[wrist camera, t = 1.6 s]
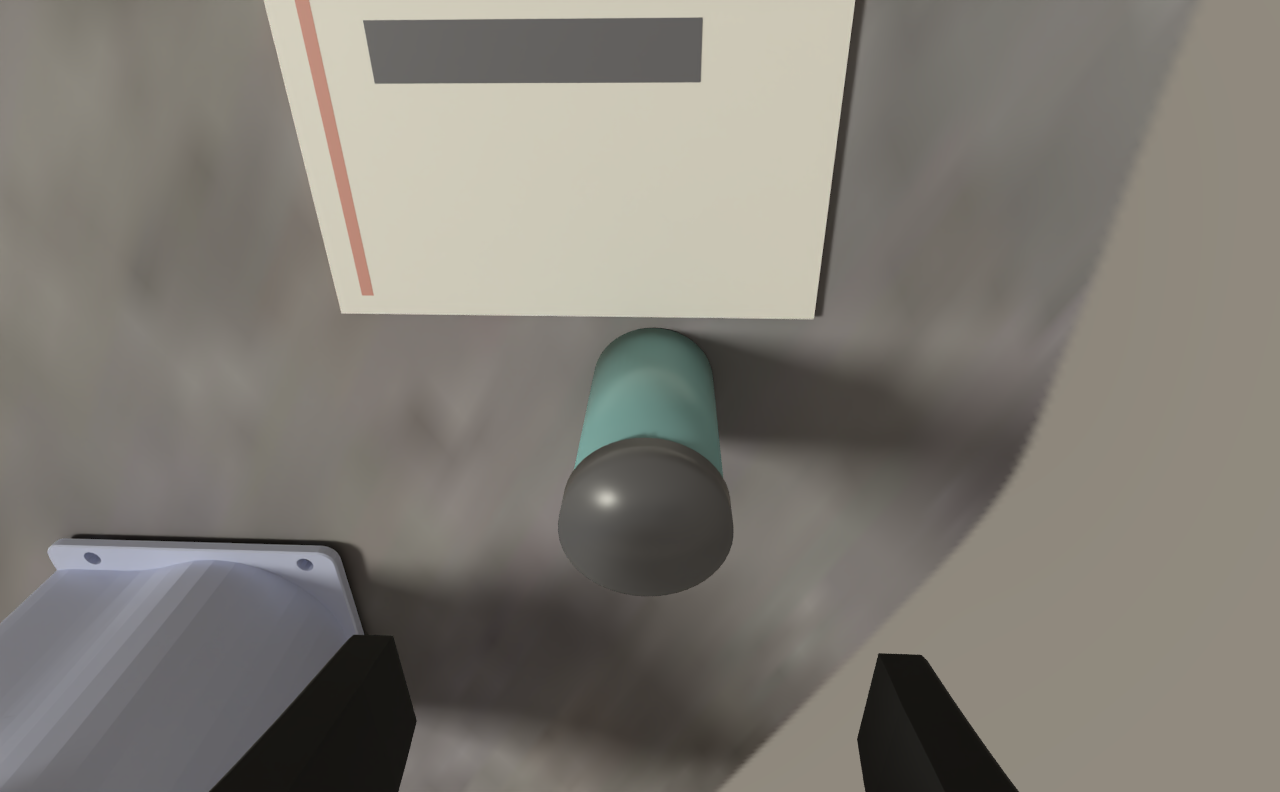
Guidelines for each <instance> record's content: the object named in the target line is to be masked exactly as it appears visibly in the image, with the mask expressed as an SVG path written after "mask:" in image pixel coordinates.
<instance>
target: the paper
mask: <svg viewBox="0 0 1280 792" xmlns="http://www.w3.org/2000/svg"><path fill="white" fill-rule="evenodd" d="M264 3H265V7H266V11H267V15H268V19H269V23H270V27H271V31H272V35H273V39H274V43H275V47H276V51H277V55H278V60H279V64H280V68H281V72H282V76H283V80H284V84H285V88H286V92H287V96H288V100H289V104H290V108H291V112H292V116H293V120H294V124H295V128H296V132H297V136H298V140H299V144H300V148H301V152H302V156H303V160H304V164H305V168H306V172H307V176H308V180H309V184H310V188H311V192H312V196H313V200H314V204H315V208H316V212H317V216H318V221H319V225H320V229H321V233H322V237H323V241H324V245H325V249H326V253H327V257H328V261H329V265H330V269H331V273H332V277H333V281H334V285H335V289H336V293H337V297H338V301H339V305H340V309H341V313H356V314H437V315H519V316H601V317H682V318H764V319H814V314H815V307H816V299H817V291H818V283H819V276H820V268H821V260H822V253H823V245H824V237H825V230H826V222H827V214H828V206H829V199H830V191H831V183H832V176H833V168H834V160H835V153H836V145H837V137H838V129H839V122H840V114H841V106H842V99H843V91H844V83H845V76H846V68H847V60H848V52H849V45H850V37H851V29H852V22H853V14H854V6H855V0H264Z"/></svg>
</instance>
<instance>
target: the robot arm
mask: <svg viewBox="0 0 1280 792" xmlns="http://www.w3.org/2000/svg"><path fill="white" fill-rule="evenodd" d="M47 552H48V555H49V558H50V559H51V561H52V563H53V564H54V566H55V568H56V569H57V571H56V572H55V573H54V574H52V575H51V576H50V577H49V578H48V579H47V580H46V581H45V582H44V583H43V584H42V585H41V586H40V587H39V588H38V589H36V590H35V591H34V592H33V593H32V594H31V595H30V596H29V597H28V598H27V599H26V600H25V601H24V602H23V603H21V604H20V605H19V606H18V607H17V608H16V609H15V610H14V611H13V612H12V613H11V614H10V615H9V616H8V617H7V618H5V619H4V620H3V621H2V622H1V623H0V792H398V791H399V787H400V783H401V780H402V776H403V772H404V769H405V765H406V761H407V757H408V753H409V749H410V745H411V741H412V737H413V733H414V729H415V725H416V721H417V720H416V717H415V713H414V710H413V706H412V703H411V699H410V695H409V692H408V688H407V685H406V681H405V677H404V674H403V670H402V667H401V663H400V660H399V656H398V652H397V649H396V645H395V642H394V638H393V636H378V635H364V632H363V629H362V625H361V622H360V619H359V616H358V612H357V609H356V606H355V603H354V600H353V596H352V593H351V590H350V587H349V583H348V580H347V577H346V574H345V571H344V567H343V564H342V561H341V558H340V556H339V554H338V553H337V552H336V551H335V550H334V549H332V548H330V547H327V546H314V545H279V544H244V543H209V542H174V541H139V540H104V539H69V538H63V539H58V540H57V541H56V542H55V543H53V544H52V545H51V546H50V547H49V548H48V551H47ZM306 559H307V560H306ZM308 560H309V561H308ZM310 561H311V562H310ZM857 741H858V748H859V754H860V761H861V767H862V773H863V780H864V786H865V791H866V792H1019V791H1018V790H1017V789H1016V787H1015V786H1014V785H1013V783H1012V782H1011V781H1010V779H1009V778H1008V777H1007V775H1006V774H1005V773H1004V771H1003V770H1002V769H1001V767H1000V766H999V764H998V763H997V762H996V760H995V759H994V758H993V756H992V755H991V753H990V752H989V751H988V749H987V748H986V746H985V745H984V744H983V742H982V741H981V739H980V738H979V736H978V735H977V733H976V732H975V731H974V729H973V728H972V726H971V725H970V724H969V722H968V721H967V719H966V718H965V716H964V715H963V713H962V712H961V711H960V709H959V708H958V706H957V705H956V703H955V702H954V700H953V699H952V697H951V696H950V694H949V693H948V691H947V690H946V688H945V687H944V685H943V684H942V682H941V681H940V679H939V678H938V676H937V675H936V673H935V672H934V670H933V669H932V667H931V666H930V664H929V663H928V661H927V660H926V659H925V658H924V657H923V656H922V655H909V654H880V653H879V654H878V658H877V662H876V666H875V670H874V674H873V678H872V682H871V686H870V690H869V694H868V698H867V702H866V706H865V710H864V714H863V718H862V722H861V726H860V730H859V734H858V738H857Z"/></svg>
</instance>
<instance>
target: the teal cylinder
mask: <svg viewBox="0 0 1280 792" xmlns="http://www.w3.org/2000/svg"><path fill="white" fill-rule="evenodd" d="M558 534H559V540H560V543H561V546H562V548H563V550H564V552H565V554H566V556H567V558H568V559H569V560H570V562H571V563H572V564H573V565H574V566H575V567H576V569H577V570H578V571H579V572H581V573H582V574H583V575H584V576H586V577H587V578H588V579H590V580H592V581H593V582H595V583H597V584H599V585H601V586H603V587H605V588H608V589H610V590H613V591H616V592H620V593H624V594H629V595H635V596H661V595H668V594H673V593H678V592H681V591H684V590H687V589H689V588H691V587H694V586H696V585H698V584H699V583H701V582H703V581H704V580H706V579H707V578H708V577H710V576H711V575H712V574H713V573H714V572H715V571H716V570H717V569H718V568H719V567H720V566H721V565H722V563H723V562H724V561H725V559H726V557H727V555H728V553H729V551H730V548H731V545H732V541H733V520H732V511H731V502H730V496H729V491H728V488H727V485H726V482H725V481H724V479H723V472H722V462H721V453H720V443H719V433H718V423H717V413H716V403H715V393H714V383H713V374H712V369H711V366H710V363H709V361H708V359H707V357H706V355H705V354H704V353H703V351H702V350H701V349H700V348H699V347H698V346H697V345H696V344H695V343H694V342H693V341H692V340H690V339H689V338H687V337H685V336H684V335H682V334H679V333H677V332H674V331H671V330H667V329H662V328H644V329H638V330H634V331H631V332H628V333H626V334H624V335H622V336H620V337H618V338H617V339H615V340H614V341H613V342H612V343H610V344H609V345H608V346H607V347H606V349H605V350H604V351H603V352H602V354H601V355H600V357H599V359H598V361H597V364H596V367H595V372H594V376H593V381H592V386H591V391H590V396H589V400H588V405H587V410H586V415H585V420H584V424H583V429H582V434H581V439H580V444H579V449H578V453H577V458H576V463H575V468H574V471H573V472H572V474H571V475H570V477H569V479H568V482H567V484H566V487H565V491H564V496H563V501H562V505H561V510H560V514H559V520H558Z"/></svg>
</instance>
